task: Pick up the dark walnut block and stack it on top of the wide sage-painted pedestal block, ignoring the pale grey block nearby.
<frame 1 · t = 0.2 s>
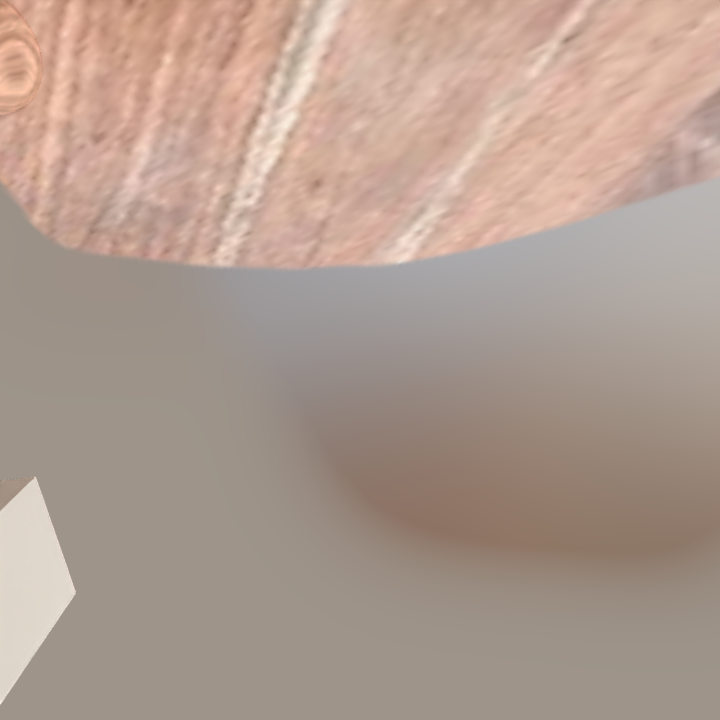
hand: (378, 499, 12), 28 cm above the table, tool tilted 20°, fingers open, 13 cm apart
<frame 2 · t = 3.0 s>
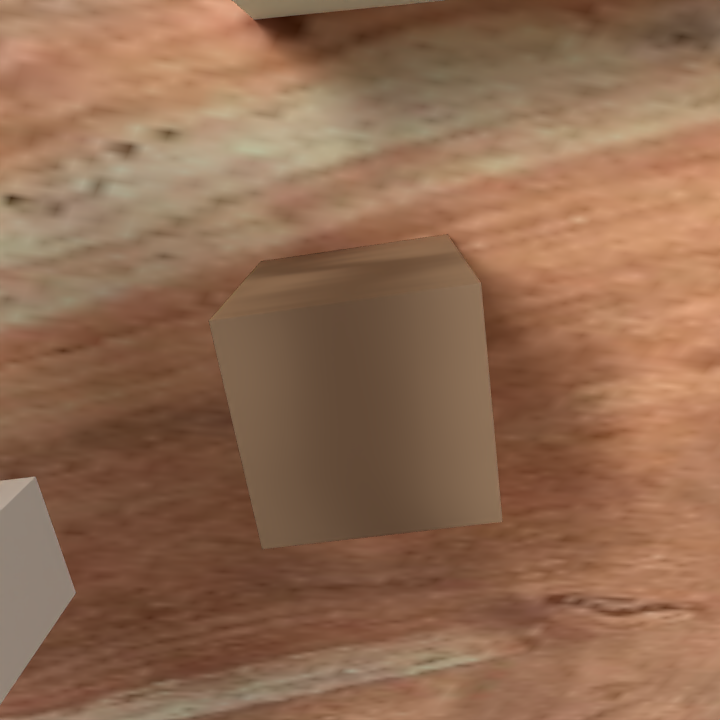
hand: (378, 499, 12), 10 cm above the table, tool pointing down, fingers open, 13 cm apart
walnut block: (366, 336, 22), on the table
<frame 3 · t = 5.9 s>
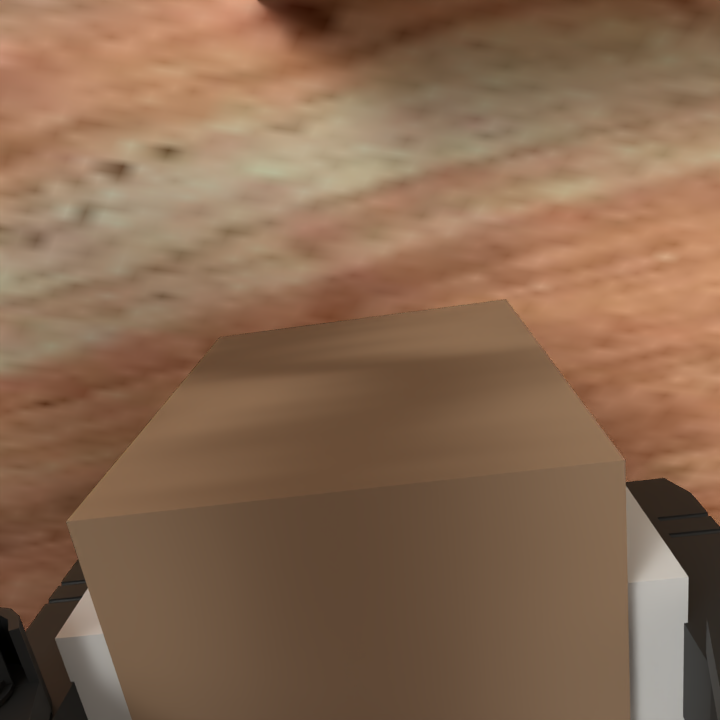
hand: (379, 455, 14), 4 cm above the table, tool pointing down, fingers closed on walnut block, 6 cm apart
walnut block: (379, 448, 14), point 4 cm above the table, touching gripper
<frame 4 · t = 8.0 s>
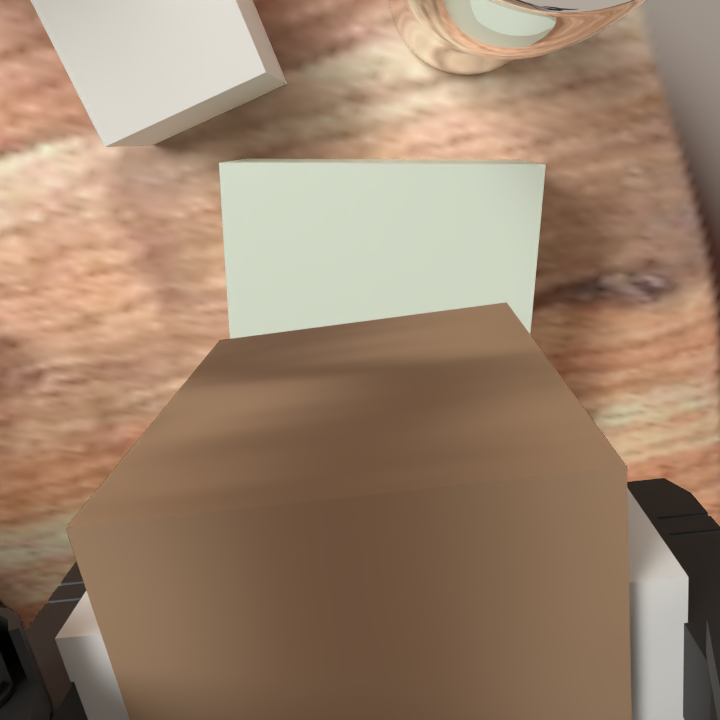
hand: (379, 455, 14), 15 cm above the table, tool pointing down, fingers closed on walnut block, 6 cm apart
walnut block: (380, 451, 14), point 15 cm above the table, touching gripper
grey block: (185, 38, 25), on the table
pedestal block: (379, 290, 28), on the table
when the fingers open (5 cm above the table, at t = 10.5 s): walnut block stays where it is, point 5 cm above the table.
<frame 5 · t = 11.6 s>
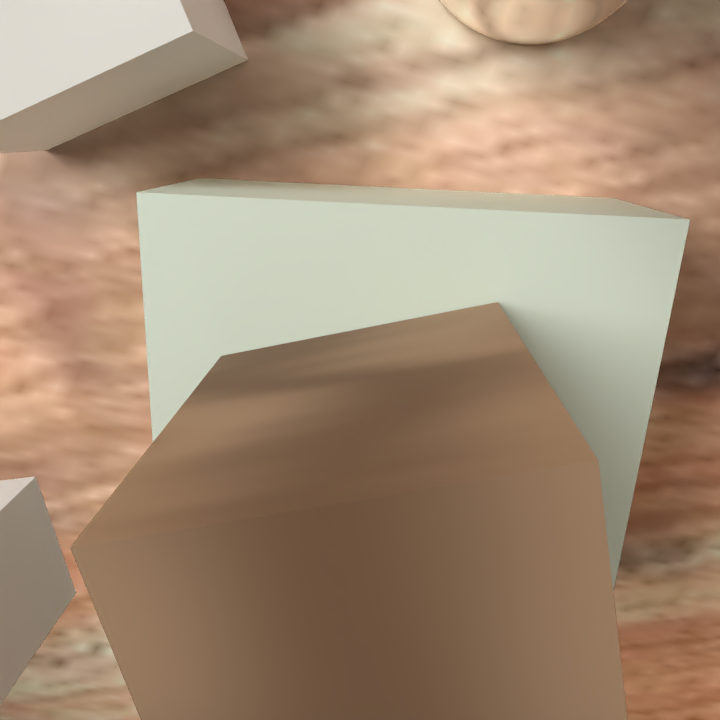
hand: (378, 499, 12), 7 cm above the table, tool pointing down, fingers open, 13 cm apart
walnut block: (384, 454, 15), point 5 cm above the table
pedestal block: (392, 376, 19), on the table
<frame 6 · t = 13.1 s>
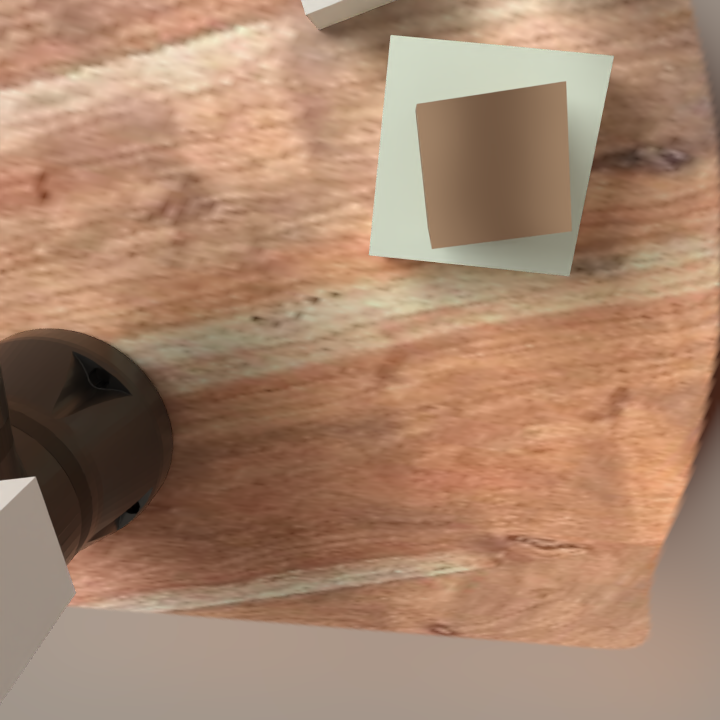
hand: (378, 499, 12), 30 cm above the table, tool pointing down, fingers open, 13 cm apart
walnut block: (479, 162, 34), point 5 cm above the table, touching pedestal block
pedestal block: (474, 158, 39), on the table, touching walnut block
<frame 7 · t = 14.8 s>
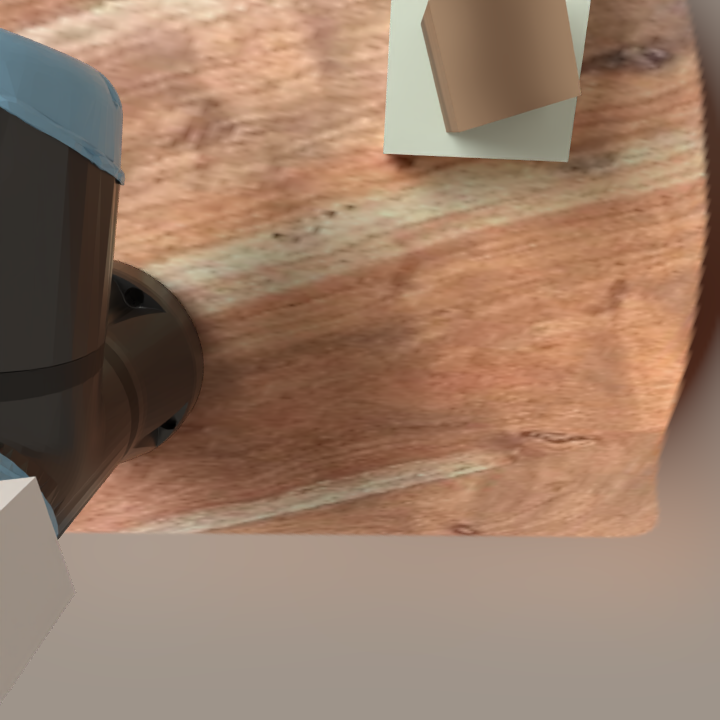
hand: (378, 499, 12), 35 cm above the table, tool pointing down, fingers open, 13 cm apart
walnut block: (484, 63, 37), point 5 cm above the table, touching pedestal block
pedestal block: (473, 65, 42), on the table, touching walnut block
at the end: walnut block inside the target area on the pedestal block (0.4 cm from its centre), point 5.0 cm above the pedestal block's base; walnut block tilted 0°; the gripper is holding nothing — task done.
